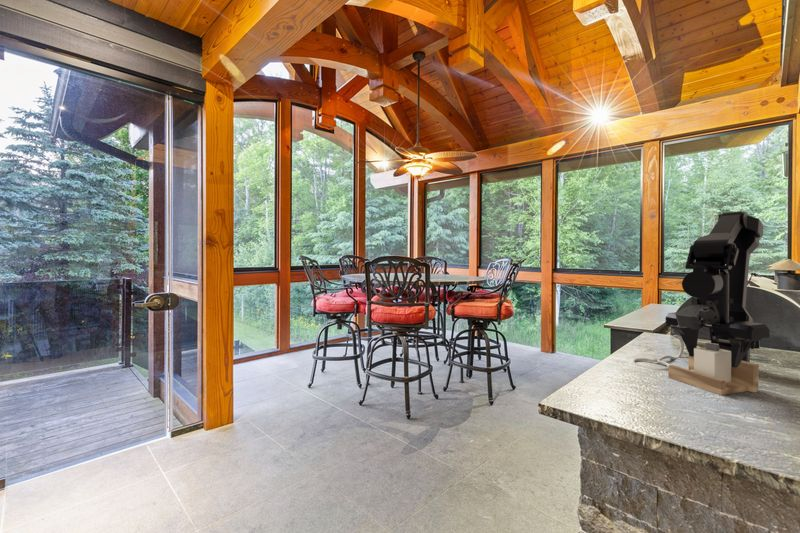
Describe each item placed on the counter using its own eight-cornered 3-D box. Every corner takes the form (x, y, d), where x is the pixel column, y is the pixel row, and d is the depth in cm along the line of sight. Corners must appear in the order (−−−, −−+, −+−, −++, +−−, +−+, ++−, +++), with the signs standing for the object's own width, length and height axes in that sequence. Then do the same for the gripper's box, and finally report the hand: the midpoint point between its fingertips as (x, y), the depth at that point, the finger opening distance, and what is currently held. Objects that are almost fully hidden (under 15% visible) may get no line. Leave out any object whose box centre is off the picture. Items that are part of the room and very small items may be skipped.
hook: (702, 359, 105) (664, 382, 96) (666, 352, 114) (627, 372, 104) (700, 334, 105) (662, 355, 95) (664, 328, 113) (625, 347, 104)
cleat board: (693, 372, 95) (693, 348, 94) (758, 391, 81) (758, 364, 81) (664, 376, 92) (664, 352, 92) (726, 396, 79) (726, 368, 79)
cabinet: (710, 375, 89) (710, 341, 88) (731, 381, 84) (731, 345, 84) (694, 377, 87) (693, 343, 87) (714, 384, 83) (714, 347, 83)
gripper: (647, 292, 92) (647, 354, 93) (731, 300, 74) (731, 378, 74) (682, 289, 95) (682, 350, 95) (771, 297, 77) (771, 372, 77)
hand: (712, 361), depth 85 cm, fingers open, 9 cm apart
